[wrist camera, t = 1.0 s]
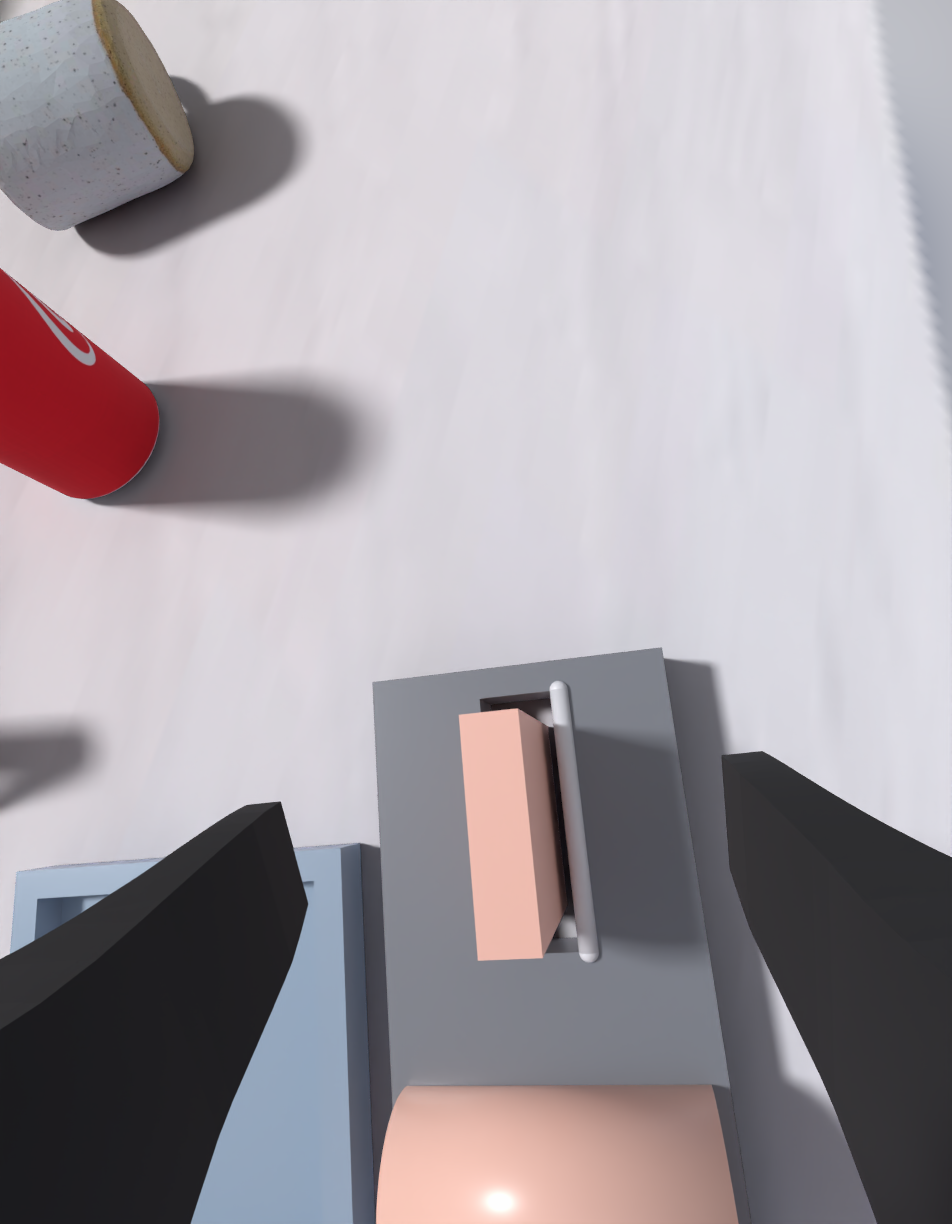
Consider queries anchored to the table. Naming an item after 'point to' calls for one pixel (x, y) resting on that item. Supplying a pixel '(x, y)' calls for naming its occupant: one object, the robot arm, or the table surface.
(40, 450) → the beverage can
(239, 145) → the table surface
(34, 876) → the tray
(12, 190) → the ceramic mug
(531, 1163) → the slotted grey platform
